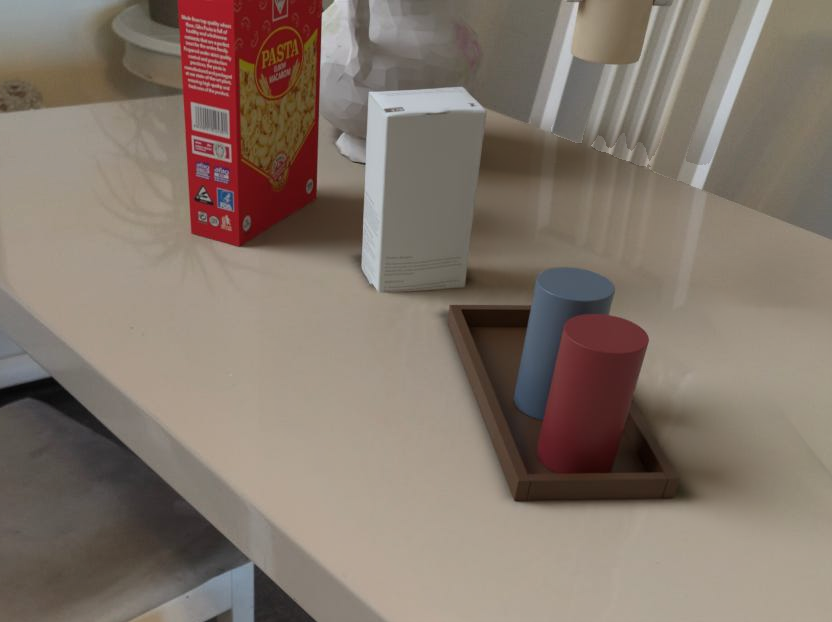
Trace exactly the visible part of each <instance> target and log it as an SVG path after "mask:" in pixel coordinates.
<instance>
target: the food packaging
mask: <svg viewBox="0 0 832 622" xmlns="http://www.w3.org/2000/svg"><path fill="white" fill-rule="evenodd" d="M177 9H178V26H179V27H178V28H179V45H180V48H179V49H180V62H181V63H180V65H181V80H182V95H183V96H182V97H183V98H182V99H183V113H184V133H185V134H184V135H185V148H186V150H185V151H186V165H187V168H186V170H187V185H188V201H189V202H188V203H189V220H190V233H191V234H193V235H196V236H199V237H203V238H207V239H212V240H214V241H218V242H222V243H225V244H228V245H233V246H236V247H241V246H242V245H245V244H246V243H247V242H249V241H250V240H252V239H253V238H256V237H257V236H258V235H260V234H262V233H263V232H265V231H266V230H268V229H270V228H272V227H273V226H274V225H276V224H278V223H279V222H281V221H283V220H284V219H286V218H287V217H289V216H290V215H292V214H294V213H295V212H297V211H298V210H300V209H302V208H303V207H305V206H306V205H308V204H310V203H311V202H313V201H314V200H316V199H317V198H318V197H317V192H318V166H319V165H318V163H319V162H318V161H319V159H318V158H319V127H320V112H319V98H320V65H321V31H322V13H323V0H177Z"/></svg>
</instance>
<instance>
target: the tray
mask: <svg viewBox="0 0 832 622" xmlns="http://www.w3.org/2000/svg"><path fill="white" fill-rule="evenodd" d="M531 305H532V304H449V306H448V315H447V326H448V328H449V331H450V334H451V336H452V339H453V342H454V345H455V347H456V350H457V352H458V355H459V358H460V360H461V363H462V366H463V369H464V371H465V374H466V376H467V379H468V382H469V384H470V387H471V390H472V392H473V395H474V398H475V401H476V403H477V405H478V408H479V411H480V414H481V416H482V419H483V421H484V424H485V427H486V430H487V433H488V435H489V437H490V440H491V443H492V446H493V448H494V452H495V454H496V457H497V460H498V461H499V465H500V467H501V470H502V473H503V475H504V477H505V481H506V483H507V485H508V486H507V487H508V488H509V491H510V494H511V497H512V499H513V501H514V502H552V501H554V502H555V501H556V502H557V501H558V502H559V501H563V502H564V501H615V500H616V501H617V500H621V501H622V500H673V499H674V497H675V494H676V490H677V488H678V485H679V483H680V477H679V475H678V473H677V472H676V470H675V468H674V467H673V465H672V463H671V462H670V460H669V458H668V457H667V455H666V453H665V452H664V450H663V448H662V447H661V445H660V443H659V441H658V440H657V438H656V437H655V435H654V433H653V432H652V430H651V428H650V426H649V425H648V423H647V422H646V420H645V418H644V417H643V415H642V413H641V412H640V410H639V407H638V406H637V405H636V403H635V401H634V400H633V399H632V402H631V406H630V409H629V413H628V416H627V419H626V423H625V426H624V430H623V433H622V437H621V440H620V444H619V447H618V451H617V454H616V458H615V461H614V465H613V468H612V469H611V471H610V472H609V473H578V474H557V473H554V472H552V471H551V470H549V469H547V468H546V467H545V466H544V465H543V464H542V463H541V462H540V461H539V459H538V457H537V447H538V442H539V437H540V433H541V428H542V424H543V420H539V419H536V418H533V417H530V416H528V415H526V414H525V413H523V412H522V411H520V410H519V409H518V408H517V406H516V405H515V402H514V394H515V389H516V383H517V378H518V373H519V368H520V363H521V357H522V352H523V347H524V342H525V336H526V331H527V326H528V321H529V316H530V310H531Z"/></svg>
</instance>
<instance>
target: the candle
mask: <svg viewBox="0 0 832 622" xmlns="http://www.w3.org/2000/svg"><path fill="white" fill-rule="evenodd" d="M652 4H653V0H585V2H578V6H577V10H576V16H575V22H574V28H573V33H572V38H571V45H570V54H572V56H574V57H575V58H577V59H580V60H583V61H587V62H590V63H591V62H592V63H596V64H603V65H614V66H615V65H617V66H618V65H619V66H620V65H621V66H622V65H623V66H624V65H632V64H636V63H637V62H639V60H640V58H641V55H642V51H643V47H644V45H645V44H644V43H645V39H646V35H647V31H648V26H649V22H650V17H651V12H652V10H653V9H652V8H653V6H652Z"/></svg>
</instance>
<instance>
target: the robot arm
mask: <svg viewBox="0 0 832 622" xmlns="http://www.w3.org/2000/svg"><path fill="white" fill-rule="evenodd" d="M563 1H564V2H565V3H579V2H585V0H563ZM673 3H674V0H653V4H652V7H671V6H672V5H673Z"/></svg>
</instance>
